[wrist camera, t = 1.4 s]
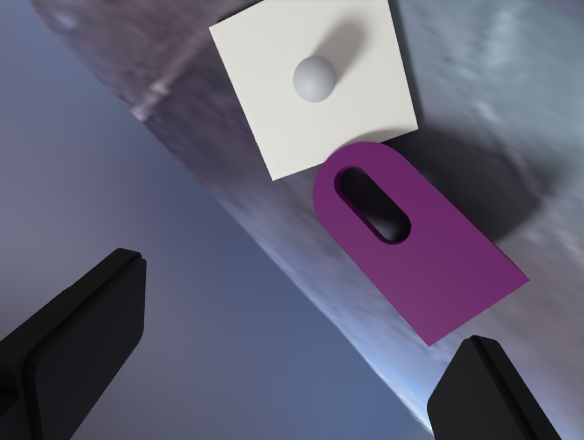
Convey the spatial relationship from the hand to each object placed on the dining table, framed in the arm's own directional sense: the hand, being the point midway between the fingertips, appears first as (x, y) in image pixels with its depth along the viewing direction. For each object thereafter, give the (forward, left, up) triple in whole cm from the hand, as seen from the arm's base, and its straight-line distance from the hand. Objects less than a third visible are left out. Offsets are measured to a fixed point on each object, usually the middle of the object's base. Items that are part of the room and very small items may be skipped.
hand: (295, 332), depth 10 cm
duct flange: (-2, -6, -24) cm, 25 cm away
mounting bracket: (-5, +9, -25) cm, 27 cm away
